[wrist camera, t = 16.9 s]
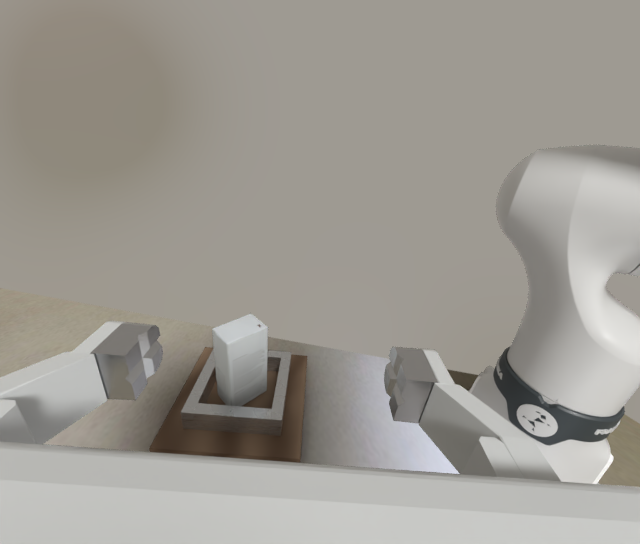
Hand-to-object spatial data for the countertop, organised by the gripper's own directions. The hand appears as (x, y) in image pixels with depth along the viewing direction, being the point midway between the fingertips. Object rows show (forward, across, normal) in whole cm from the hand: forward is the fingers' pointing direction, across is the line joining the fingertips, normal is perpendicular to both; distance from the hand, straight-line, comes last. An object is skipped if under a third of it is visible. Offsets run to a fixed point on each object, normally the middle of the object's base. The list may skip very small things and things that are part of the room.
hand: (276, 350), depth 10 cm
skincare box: (+23, +7, +29) cm, 37 cm away
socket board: (+23, +7, +30) cm, 38 cm away
